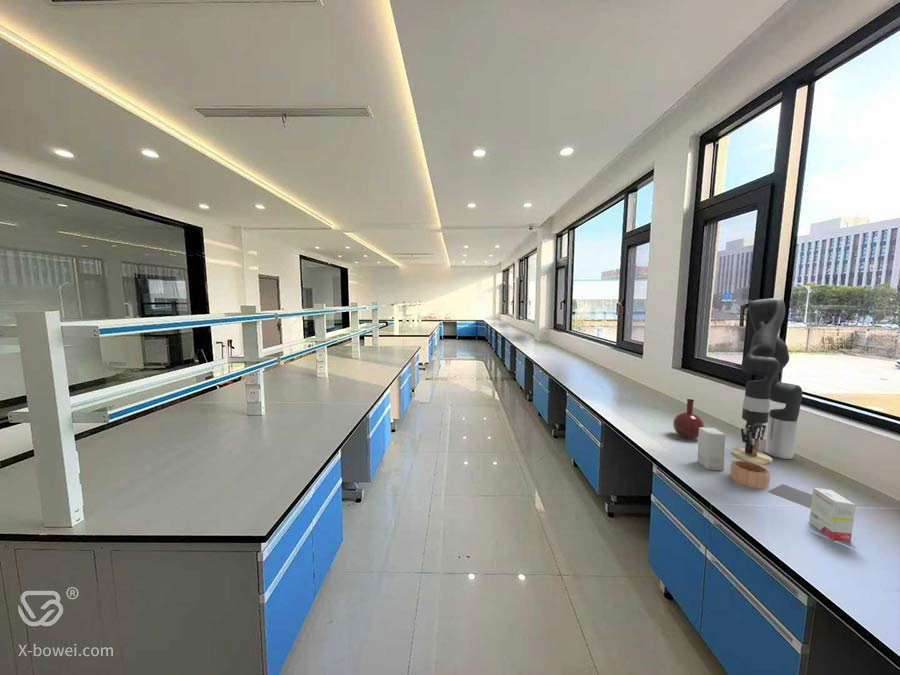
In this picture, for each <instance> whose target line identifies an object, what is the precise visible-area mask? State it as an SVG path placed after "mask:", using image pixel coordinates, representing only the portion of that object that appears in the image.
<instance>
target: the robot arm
mask: <svg viewBox="0 0 900 675" xmlns="http://www.w3.org/2000/svg"><path fill="white" fill-rule="evenodd" d="M747 309H748V314H749V317H750V321H751V324H752V327H753V330H754V335H753V336H752V339H751V344H750V348H749V351H748V353H747V354H746V355H745V356H744V357H743V359H742V362H741V366H740V367H741V370H742V371H743V372H744V373H746V374H747V375H757V376H764V378H763V379H756V380H754V379H753V380H748V381H746V383H745V392H744V398H743V401H742V402H743V403H742V410H741V411H742V412H741V418H742V420H744V421H746V423H745V426H744V428H741V429H740V434H741V441H742V443H745V446H744V447H745V448H744V449H745V452H746V453H749V454H752V453H753V447H754V445H753V444H754V440H755V439H757V440H758V441H759V442H758V448H759V445H760V444H759V443H761V441H763V440H764V436H765V433H766V430H767V434H766V440H765V441H766V442H765V453H766V455H768V456H772V457H775V458H779V459H783V460H784V459H785V460H791V459H793V458H794V455H795V454H794V452H795V444H796V436H797V427H798V426H797V425H798V418H799V414H800V411H801V404H802V399H803V389H802V387H801V386H800V385H797V384H793V383H786V382H783V381H780V379H779V375H780V373H781V372H782V371H783V369H784V368H785V367H786V365H788V363H789V362H790V353H789V348H788V345H787V344H786V342H785V341H784V340H783V339H782V338H780V337H779V335H778V334H779V332H780V330H781V327H782V325H783V322H784V320H785V316H786V304H785V301H784V300H783V298H781V297H773V298H772V297H771V298H761V299H755V300H751V301H750V302H749V303H748V308H747ZM767 321H768V322H767ZM765 322H767V323H765ZM770 401H772V402H776V403H780V404H784V405H785V406H784V407H783V408H774V409H770V408H771V406H770V405H771V403H770ZM765 424H767V425H765ZM751 438H752V440H751ZM757 452H759V450H758V451H757Z"/></svg>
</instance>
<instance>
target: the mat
mask: <svg viewBox="0 0 900 675" xmlns="http://www.w3.org/2000/svg"><path fill="white" fill-rule="evenodd" d="M767 493H769V494H772V495H775V496H777V497H780V498H782V499H785V500H787V501H791V502H793V503H796V504H798V505H800V506H803V507H806V508H808V509H811V502H812V495H813V493H809V492H806V491H803V490H800V489H797V488H795V487H792V486H789V485H786V484H783V483H781V484H780V485H778V486H775V487H774V488H771V489H770V490H768V491H767Z"/></svg>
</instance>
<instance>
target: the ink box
mask: <svg viewBox="0 0 900 675" xmlns="http://www.w3.org/2000/svg"><path fill="white" fill-rule="evenodd" d="M855 513H856V504H855V503H853V502H851V501H849V500H848V499H847V498H845V497H843V495H840V494H839V493H837V492H835V491H834V490H832V489H826V488H821V487H820V488H819V487H813V488H812V502H811V508H810V512H809V521H808V522H809V523H810V524H811V525H813V526H814V527H815V529H818V530H819V531H820V532H821V533H823V534H824V535H826V536H827V538H829V539H830V540H832V541H841V542H852V533H853V526H854V521H855V520H854V519H855Z"/></svg>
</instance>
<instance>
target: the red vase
mask: <svg viewBox="0 0 900 675" xmlns="http://www.w3.org/2000/svg"><path fill="white" fill-rule="evenodd" d="M686 402H687V403H686V411H685V412H684V411H683V412H681V413H678V414H677V415H676V416H675V417H674V419H673V422H672V424H673V425H672V426H673V429H674V431H675V432H676V433H677V435H678V436H680V437H682V438H683V439H687V440H693V439H698V438H699V427H703V428H706V427H705V422H704V421H703V419H702V418H701V417H700V416H699V415H697V414H696V413H693V412H694V402H695V399H692V398H686Z"/></svg>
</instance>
